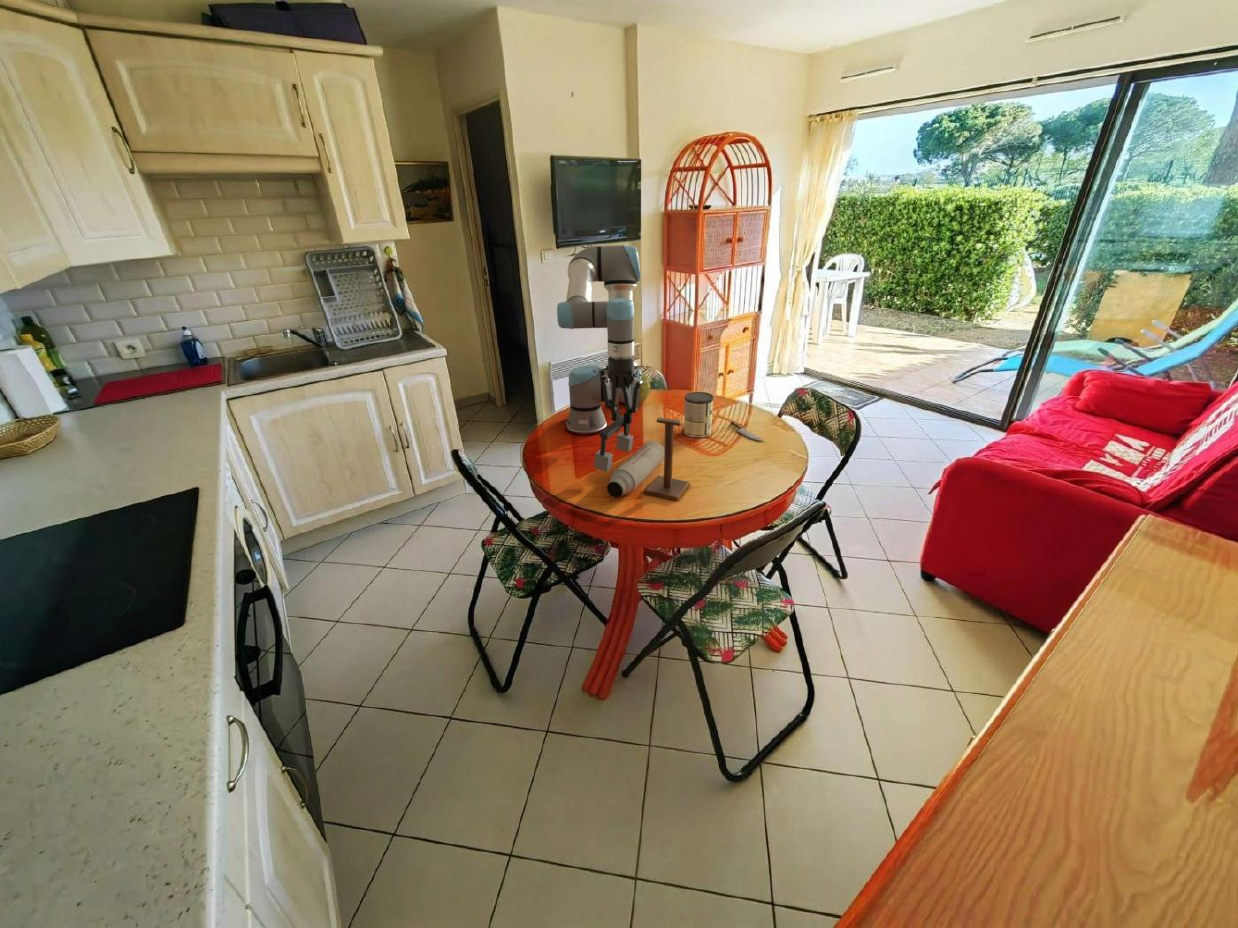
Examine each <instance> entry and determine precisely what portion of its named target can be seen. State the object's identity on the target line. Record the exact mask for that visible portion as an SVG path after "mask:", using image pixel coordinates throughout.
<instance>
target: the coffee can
mask: <svg viewBox="0 0 1238 928" xmlns="http://www.w3.org/2000/svg"><path fill="white" fill-rule="evenodd" d="M714 398H715V397H714V395H713V394H711V393H709V392H704V391H692V392H688V393H686V394H685V395H684V418H683V419H684V421H683V434H684V435H686V436H688V437H690V438H706V437H709V436H711V434H712V425H713V423H712V421H713V411H714V410H713V409H714V408H713V407H714Z"/></svg>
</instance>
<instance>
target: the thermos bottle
mask: <svg viewBox="0 0 1238 928" xmlns="http://www.w3.org/2000/svg"><path fill="white" fill-rule="evenodd" d="M664 448H665V447H664V446H663V445H662V444H661V443H660V442H658V441H657V440H656V441H655V440H649V441H647V442H645V443H644V444H643V445H642V446H640V448H638V449H637V451H635V452H634V453H633V454H632V455H631V456H629V458H627V459H626V460H625V461H623V463H622V464H620V465H619V466H618V467H617V468H616V469H614V470H613V472H612V473H611V477H610V478H609V482H608V484H607V485H606V491H607V493H608V495H609V496H610V497H612V498H614V499H618V498H621V497H622V496H625V495H628V494H631V493H633V492H634V491H635V490H637V488H638V487H639V486H640V485H641V484H642V483H643V482H644V481H645V480H646V479H647V478H648V477H649V475H651V474H652V473H653V471H654V470H656V468H658V467H659V466H660V464H661V463H662V462H664Z"/></svg>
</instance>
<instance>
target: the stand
mask: <svg viewBox="0 0 1238 928" xmlns="http://www.w3.org/2000/svg"><path fill="white" fill-rule="evenodd" d="M656 423H659V424H663V425H664V447H663V448H664V460H663V476H662V475H657V477H656V478H655V479H653V481H652V482H651V483H649V486H647V487H646V488H645V490H644V491H645V492H644V494H647V495H650V496H655V497H659V498H663V499H668V500H673V501H678V500H679V499H680V498H681V496H682V495H683V494H684V493H685V492H686V490H687V489H688V488H689V486H690V481H687V480H681V479H677V478H673V460H674V458H673V455H674V430H675V429H674V427H675V426H676V427H681V426H682V425H683V424H684V421H683V420H677V419H670V418H665V417H658V418H657V419H656Z"/></svg>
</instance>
